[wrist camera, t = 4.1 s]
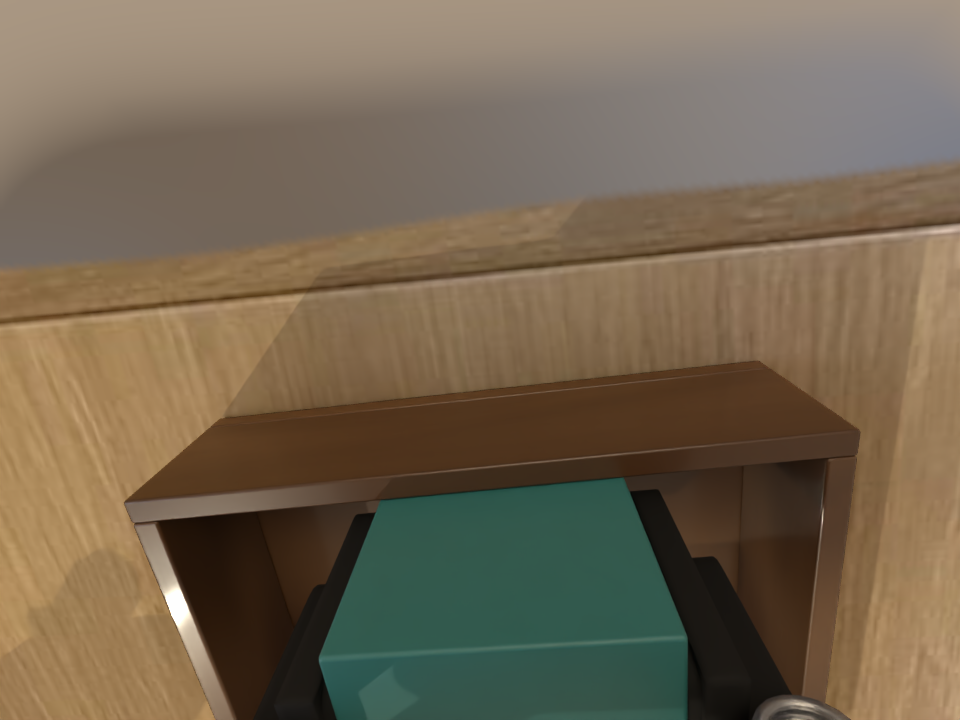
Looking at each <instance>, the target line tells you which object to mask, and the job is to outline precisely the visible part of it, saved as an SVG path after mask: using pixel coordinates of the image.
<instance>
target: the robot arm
mask: <svg viewBox="0 0 960 720" xmlns="http://www.w3.org/2000/svg"><path fill="white" fill-rule="evenodd" d="M629 492H630V494H631V497H632V499H633V502H634V504H635V507H636V509H637V512H638V514H639V517H640V519H641V522H642V524H643V527H644V529H645V532H646V534H647V537H648V539H649V542H650V544H651V547H652V549H653V552H654V554H655V557H656V559H657V562H658V564H659V567H660V569H661V572H662V574H663V577H664V579H665V582H666V584H667V587H668V589H669V592H670V594H671V597H672V599H673V602H674V604H675V607H676V609H677V612H678V614H679V617H680V619H681V622H682V624H683V627H684V629H685V632H686V634H687V637H688V720H851V719H849V718H848V717H847V716H845V715H844V714H843V713H841V712H840V711H839V710H837V709H835V708H833V707H831V706H829V705H827V704H825V703H823V702H821V701H819V700H816V699H812V698H809V697H805V696H801V695H792V693H791V692H790V690H789V688H788V686H787V684H786V683H785V681H784V679H783V677H782V675H781V673H780V672H779V670H778V668H777V666H776V664H775V663H774V661H773V659H772V657H771V655H770V653H769V652H768V650H767V648H766V646H765V644H764V643H763V641H762V639H761V637H760V635H759V633H758V632H757V630H756V628H755V626H754V624H753V623H752V621H751V619H750V617H749V615H748V613H747V612H746V610H745V608H744V606H743V604H742V602H741V601H740V599H739V597H738V595H737V593H736V592H735V590H734V588H733V586H732V584H731V582H730V581H729V579H728V577H727V575H726V573H725V572H724V570H723V568H722V566H721V565H720V563H719V562H718V560H717V559H716V558H715V557H713V556H709V557H695V558H692V557H691V555H690V553H689V551H688V549H687V546H686V544H685V542H684V540H683V538H682V536H681V534H680V532H679V530H678V528H677V526H676V524H675V522H674V520H673V518H672V516H671V513H670V511H669V509H668V507H667V505H666V503H665V501H664V499H663V497H662V495H661V493H660V491H659V490H658V489H651V490H639V491H629ZM374 516H375V513H364V514H357V515H355V517H354V519H353V521H352V523H351V526H350V528H349V530H348V533H347V535H346V537H345V540H344V542H343V544H342V547H341V549H340V551H339V554H338V556H337V558H336V561H335V563H334V565H333V568H332V570H331V572H330V575H329V577H328V579H327V582H326V584H319V585H317V586H316V587H314V588H313V590H312V592H311V593H310V595H309V597H308V599H307V602H306V604H305V606H304V608H303V610H302V613H301V615H300V617H299V619H298V621H297V624H296V626H295V628H294V630H293V632H292V635H291V637H290V639H289V641H288V643H287V646H286V648H285V650H284V652H283V654H282V657H281V659H280V661H279V663H278V665H277V668H276V670H275V672H274V674H273V676H272V679H271V681H270V683H269V685H268V687H267V690H266V692H265V694H264V696H263V698H262V701H261V703H260V705H259V707H258V709H257V711H256V714H255V716H254V718H253V720H337V719H336V716H335V712H334V709H333V706H332V703H331V699H330V696H329V693H328V690H327V686H326V683H325V680H324V677H323V673H322V670H321V667H320V664H319V656H320V653H321V650H322V648H323V645H324V643H325V640H326V638H327V635H328V633H329V630H330V628H331V625H332V622H333V620H334V617H335V615H336V612H337V610H338V607H339V605H340V602H341V600H342V597H343V595H344V592H345V589H346V587H347V584H348V582H349V579H350V577H351V574H352V572H353V569H354V567H355V564H356V561H357V559H358V556H359V554H360V551H361V549H362V546H363V544H364V541H365V539H366V536H367V533H368V531H369V528H370V526H371V523H372V521H373V518H374Z"/></svg>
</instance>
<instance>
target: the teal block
mask: <svg viewBox="0 0 960 720" xmlns="http://www.w3.org/2000/svg"><path fill="white" fill-rule="evenodd" d="M319 664H320V667H321V670H322V673H323V677H324V680H325V683H326V686H327V690H328V693H329V696H330V699H331V703H332V706H333V709H334V712H335V716H336V719H337V720H688V637H687V634H686V632H685V629H684V627H683V624H682V622H681V619H680V617H679V614H678V612H677V609H676V607H675V604H674V602H673V599H672V597H671V594H670V592H669V589H668V587H667V584H666V582H665V579H664V577H663V574H662V572H661V569H660V567H659V564H658V562H657V559H656V557H655V554H654V552H653V549H652V547H651V544H650V542H649V539H648V537H647V534H646V532H645V529H644V527H643V524H642V522H641V519H640V517H639V514H638V512H637V509H636V507H635V504H634V502H633V499H632V497H631V494H630V492H629V489H628V487H627V484H626V482H625V479H624V477H620V478H610V479H599V480H588V481H578V482H567V483H556V484H546V485H535V486H524V487H514V488H503V489H493V490H482V491H471V492H461V493H450V494H439V495H429V496H418V497H407V498H397V499H386V500H380V503H379V505H378V508H377V511H376V513H375V516H374V518H373V521H372V523H371V526H370V528H369V531H368V533H367V536H366V539H365V541H364V544H363V546H362V549H361V551H360V554H359V556H358V559H357V561H356V564H355V567H354V569H353V572H352V574H351V577H350V579H349V582H348V584H347V587H346V589H345V592H344V595H343V597H342V600H341V602H340V605H339V607H338V610H337V612H336V615H335V617H334V620H333V622H332V625H331V628H330V630H329V633H328V635H327V638H326V640H325V643H324V645H323V648H322V650H321V653H320V656H319Z"/></svg>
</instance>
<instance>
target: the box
mask: <svg viewBox="0 0 960 720" xmlns="http://www.w3.org/2000/svg"><path fill="white" fill-rule="evenodd" d="M859 439H860V430H859V429H858V428H856V427H855V426H853V425H852V424H850V423H849V422H847V421H846V420H844V419H843V418H842V417H840V416H839V415H837V414H836V413H834V412H833V411H831V410H830V409H828V408H827V407H826V406H824V405H823V404H821V403H820V402H818V401H817V400H815V399H814V398H812V397H811V396H810V395H808V394H807V393H805V392H804V391H802V390H801V389H799V388H798V387H796V386H795V385H793V384H792V383H791V382H789V381H788V380H786V379H785V378H783V377H782V376H780V375H779V374H777V373H776V372H775V371H773V370H772V369H769V368H768V367H767V366H766V365H764V364H763V363H761V362H760V361H752V362H743V363H733V364H724V365H715V366H705V367H696V368H687V369H678V370H668V371H659V372H650V373H641V374H631V375H622V376H613V377H603V378H594V379H585V380H576V381H566V382H557V383H548V384H539V385H529V386H520V387H511V388H501V389H492V390H483V391H474V392H464V393H455V394H446V395H437V396H427V397H418V398H409V399H399V400H390V401H381V402H372V403H362V404H353V405H344V406H335V407H325V408H316V409H307V410H297V411H288V412H279V413H270V414H260V415H251V416H242V417H232V418H223V419H219V420H218V421H217V422H216V423H215V424H213V425H212V426H211V428H209V429H208V430H206V431H205V432H204V433H203V434H202V435H201V436H199V437H198V438H197V439H196V440H195V441H194V442H192V443H191V444H190V445H189V446H188V447H187V448H186V449H184V450H183V451H182V452H181V453H180V454H179V455H177V456H176V457H175V458H174V459H173V460H172V461H171V462H169V463H168V464H167V465H166V466H165V467H164V468H162V469H161V470H160V471H159V472H158V473H157V474H156V475H154V476H153V477H152V478H151V479H150V480H149V481H147V482H146V483H145V484H144V485H143V486H142V487H140V488H139V489H138V490H137V491H136V492H135V493H134V494H132V495H131V496H130V497H129V498H128V499H127V500H125V502H124V505H125V507H126V509H127V512H128V514H129V517H130V519H131V521H132V522H133V523H135V524H134V528H135V530H136V533H137V535H138V538H139V540H140V542H141V545H142V547H143V549H144V552H145V554H146V557H147V559H148V561H149V564H150V566H151V568H152V571H153V573H154V575H155V578H156V580H157V583H158V585H159V587H160V590H161V592H162V594H163V597H164V599H165V601H166V604H167V606H168V609H169V611H170V613H171V616H172V618H173V620H174V623H175V625H176V628H177V630H178V632H179V635H180V637H181V639H182V642H183V644H184V646H185V649H186V651H187V654H188V656H189V658H190V661H191V663H192V665H193V668H194V670H195V672H196V675H197V677H198V680H199V682H200V684H201V687H202V689H203V691H204V694H205V696H206V698H207V701H208V703H209V706H210V708H211V710H212V713H213V715H214V717H215V720H253V718H254V716H255V714H256V711H257V709H258V707H259V705H260V703H261V701H262V698H263V696H264V694H265V692H266V690H267V687H268V685H269V683H270V681H271V679H272V676H273V674H274V672H275V670H276V668H277V665H278V663H279V661H280V659H281V657H282V654H283V652H284V650H285V648H286V646H287V643H288V641H289V639H290V637H291V635H292V632H293V630H294V628H295V626H296V624H297V621H298V619H299V617H300V615H301V613H302V610H303V608H304V606H305V604H306V602H307V599H308V597H309V595H310V593H311V592H312V590H313V588H314V587H316V586H317V585H319V584H326V582H327V579H328V577H329V575H330V572H331V570H332V568H333V565H334V563H335V561H336V558H337V556H338V554H339V551H340V549H341V547H342V544H343V542H344V540H345V537H346V535H347V533H348V530H349V528H350V526H351V523H352V521H353V519H354V517H355V515H357V514H364V513H376V511H377V508H378V505H379V503H380V500H386V499H397V498H407V497H418V496H429V495H439V494H450V493H461V492H471V491H482V490H493V489H503V488H514V487H524V486H535V485H546V484H556V483H567V482H578V481H588V480H599V479H610V478H620V477H624V479H625V482H626V484H627V487H628V489H629V491H639V490H651V489H658V490H659V491H660V493H661V495H662V497H663V499H664V501H665V503H666V505H667V507H668V509H669V511H670V513H671V516H672V518H673V520H674V522H675V524H676V526H677V528H678V530H679V532H680V534H681V536H682V538H683V540H684V542H685V544H686V546H687V549H688V551H689V553H690V555H691V557H692V558H695V557H709V556H713V557H715V558H716V559H717V560H718V562H719V563H720V565H721V566H722V568H723V570H724V572H725V573H726V575H727V577H728V579H729V581H730V582H731V584H732V586H733V588H734V590H735V592H736V593H737V595H738V597H739V599H740V601H741V602H742V604H743V606H744V608H745V610H746V612H747V613H748V615H749V617H750V619H751V621H752V623H753V624H754V626H755V628H756V630H757V632H758V633H759V635H760V637H761V639H762V641H763V643H764V644H765V646H766V648H767V650H768V652H769V653H770V655H771V657H772V659H773V661H774V663H775V664H776V666H777V668H778V670H779V672H780V673H781V675H782V677H783V679H784V681H785V683H786V684H787V686H788V688H789V690H790V692H791V693H792V695H801V696H805V697H809V698H812V699H816V700H819V701H821V702H823V703H825V698H826V691H827V683H828V676H829V668H830V660H831V653H832V645H833V637H834V630H835V622H836V614H837V607H838V599H839V591H840V584H841V576H842V568H843V561H844V553H845V545H846V538H847V530H848V522H849V515H850V507H851V500H852V492H853V484H854V477H855V469H856V461H857V458H856V456H855V455H857V453H858V447H859Z"/></svg>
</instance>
